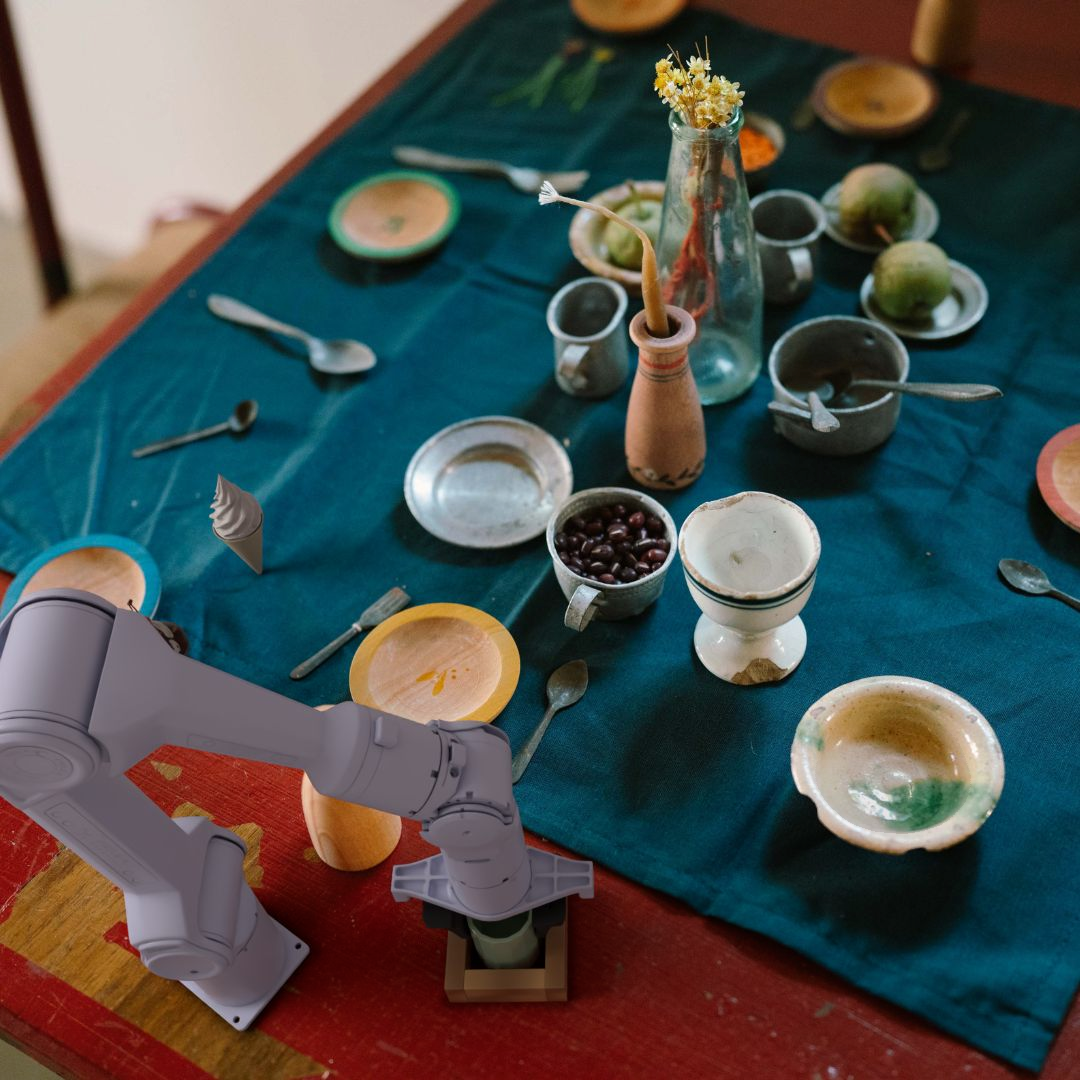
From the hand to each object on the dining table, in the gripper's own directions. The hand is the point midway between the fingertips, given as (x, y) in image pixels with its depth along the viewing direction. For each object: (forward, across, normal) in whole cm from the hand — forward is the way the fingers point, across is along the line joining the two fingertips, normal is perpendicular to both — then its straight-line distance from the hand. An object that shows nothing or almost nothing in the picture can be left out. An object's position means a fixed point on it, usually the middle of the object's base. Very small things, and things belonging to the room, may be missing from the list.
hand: (505, 925), depth 91 cm
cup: (+4, 0, 0) cm, 4 cm away
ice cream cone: (+4, +27, -39) cm, 48 cm away
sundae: (+4, +32, -23) cm, 39 cm away
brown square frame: (+4, 0, 0) cm, 4 cm away
